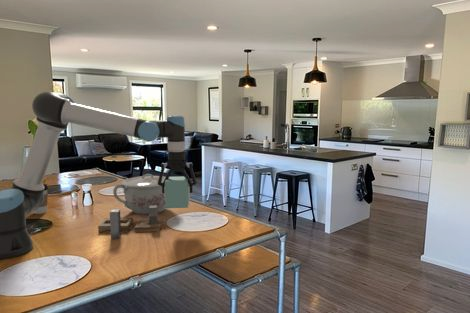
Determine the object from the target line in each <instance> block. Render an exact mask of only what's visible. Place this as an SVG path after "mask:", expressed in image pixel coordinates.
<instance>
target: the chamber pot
mask: <svg viewBox="0 0 470 313" xmlns="http://www.w3.org/2000/svg"><path fill="white" fill-rule="evenodd" d="M159 176H160V175H153V174H151V173H145V174H143V175H141V176H134V177H129V178H127V179H124V180H122V181H121V184H120V183H117V184H116V185H115V186H114V188H112V189H113V190H112V194H113V197H114V198H115V199H116V200H117V201H118V202H120V203H121V204H124V205H125V206H126V207H127V208H128V209H130V210H131V211H132V212H133V213H134V214H138V215H144V216H146V215H148V216H149V207H150V206H157V210H158V213H161V212H164V210H165V209H167V208H166V202H165V193H162V186H160V185H158V180H159ZM165 178H166V176H164V175H163V177H162V181H161V182H162V183H163V182H164V180H165ZM118 189H123V194H124V199H122V198H120V197H119V195H118V194H117V193H118V192H117V190H118Z"/></svg>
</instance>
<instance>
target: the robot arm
mask: <svg viewBox="0 0 470 313" xmlns="http://www.w3.org/2000/svg"><path fill="white" fill-rule="evenodd" d="M31 108H32V112H33V114H35V117H36V119H35V121H36V122H37V124H38V125H37V129H36V132H35V134H34V136H33V137H34V138H33V140H32V142H31V144H30V148H29V150H28V153H27V157H26V159H25V162H24V164H23V167H22V171H21V173H20V176H19V177H18V178H16V179H14V180H13V182H12V185H11V188H7V189H1V190H0V260H5V259H12V258H16V257H19V256H20V257H21V256H22V255H24V254H27V253H29V252H30V251H32V250H33V248H34V242H33V240H32V238H31V235H30V234H29V232H28V230H27V220H26V217H27V216H28V215H30V214H32V213H33V212H34V211H35V210H37V209H38V208H39V207H40V205H41V204H42V202H43V200H44V193H43V191H44V188H45V187H44V185H43V184H44V183H43V182H44V180H45V177H46V174H47V171H48V168H49V167H50V166H49V165H50V164H51V160H52V158H53V155H54V152H55V149H56V146H57V144H58V141H59V139H60V136H61V133H62V132H63V131H65V130H67V128H68V126H69V123H70V124H74V125H79V126H82V127H87V128H92V129H96V130H100V131H101V130H102V131H105V132H106V131H107V132H109V133H110V132H111V133H115V134H119V135H124V136H127V137H128V136H129V137H133V138H136V139H140V140H143V141H144V142H145V141H146V142H153V141H154V140H156V139H158V138H159V139H160V138H162V139H163V138H167V150H168V152H167V162H165V163H164V162H162V163H161V164H160V173H159V175H158V176H159V180H158V185H160V186H162V193H165V180H168V178H169V177H171V175H172V173H176V172H177V173H181V174H182V176H183V177H185V178H186V179H188V184H189V185H188V201H189V202H190V201H191V194H192V193H193V191H194V189H193V188H194V187H193V186H196V185H197V180H196V176H195V172H194V169H193V162H187V161H186V151H185V150H186V134H185V133H186V132H185V131H186V130H185V129H186V127H185V126H186V125H185V117H184V116H182V115H168V116H166V119H164V120H154V119H151V120H148V119H141V118H137V117H133V116H129V115H125V114H120V113H117V112H112V111H109V110H108V111H107V110H103V109H100V108H95V107H91V106H86V105H83V104H78V103H76V102H75V101H74V99H73V98H72V97H71V96H69V95H68V94H65V93H61V92H54V91H53V92H52V91H44V92H41V93H39V94H37V95H36V96H35V97H34V98H33V100H32V103H31ZM186 166H187V168H188V169H189V170H188V171H189V173H190V177H191V178H190V177H188V176H189V175H188V173H187V172H186V169H185V167H186ZM167 167H168V168H169V170H168V172H167V174H166V176H165V177H166V178H165V180H164V182H163V183H162V182H161V181H162V177H163V176H164V173H165V169H166V168H167Z"/></svg>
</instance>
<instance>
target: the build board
mask: <svg viewBox="0 0 470 313" xmlns="http://www.w3.org/2000/svg"><path fill="white" fill-rule="evenodd" d="M120 220H121V233H124V232H125V233H129V231H130V229H132V227H133V225H134V217H120ZM97 228H98V230H97V231H98V233H111V228H110V217H109V218H108V217H105V218H104V219H103V220H102V221H101V223H100V224H99V225H98V226H97Z"/></svg>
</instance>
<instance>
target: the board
mask: <svg viewBox="0 0 470 313" xmlns="http://www.w3.org/2000/svg"><path fill="white" fill-rule="evenodd" d="M158 217H159V216H158V210H157V206H150V207H149V215H148V219H146V218H145V219H139V220H138V222H137V223H136V225H135V226H134V232H136V233H137V232H141V233H142V232H160V230H161V228H162V225H163V221H164V220H163V218H161V219H159V218H158Z"/></svg>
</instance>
